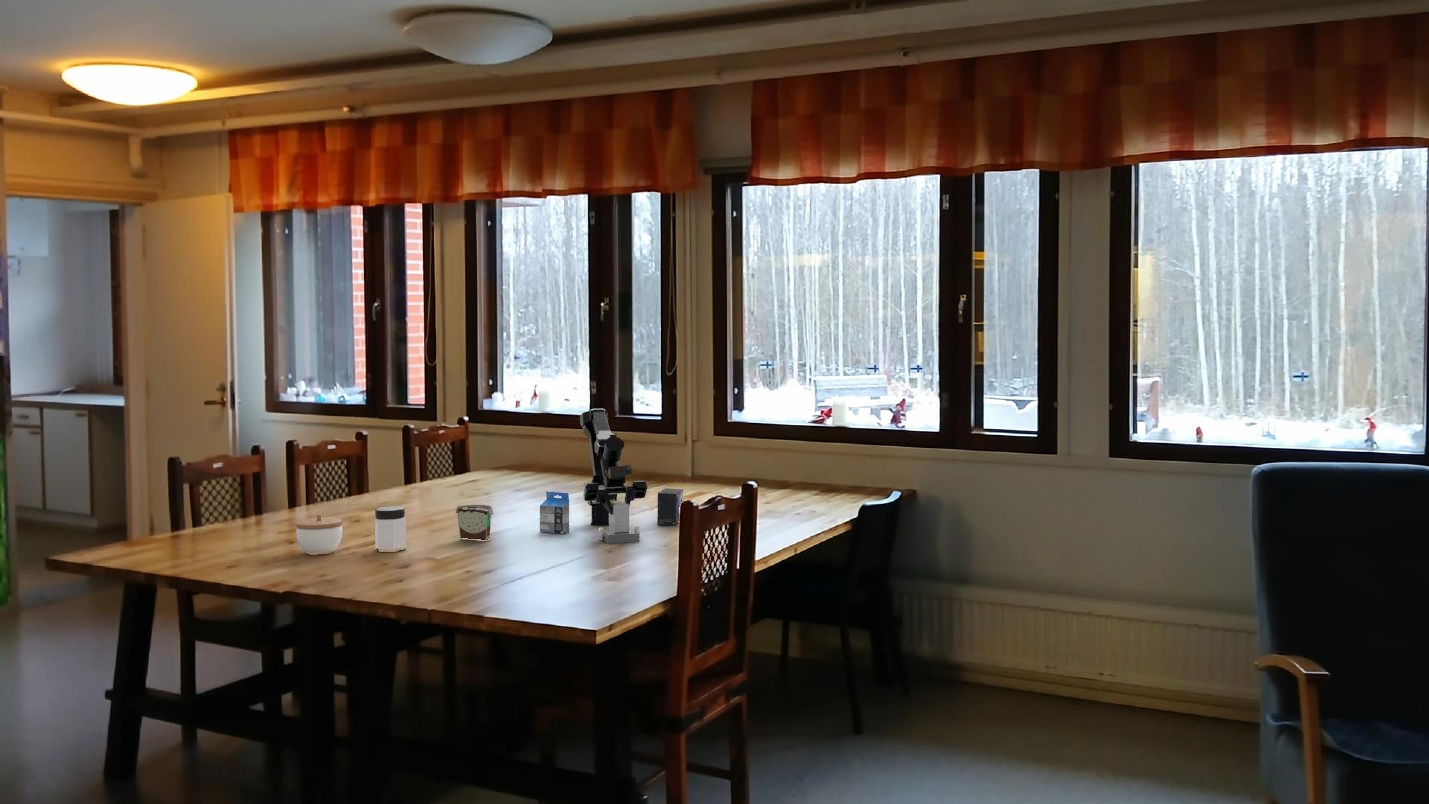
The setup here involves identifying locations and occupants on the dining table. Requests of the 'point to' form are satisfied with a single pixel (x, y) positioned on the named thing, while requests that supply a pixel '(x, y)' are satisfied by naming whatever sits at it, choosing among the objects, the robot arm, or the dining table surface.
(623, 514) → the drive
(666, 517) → the small box
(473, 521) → the food container
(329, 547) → the lidded bowl
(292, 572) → the dining table surface
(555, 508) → the label tape box
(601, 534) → the dock
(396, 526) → the jar
